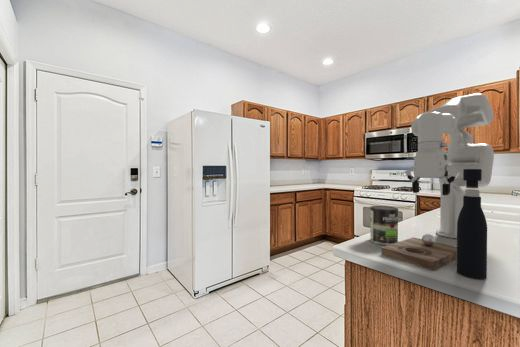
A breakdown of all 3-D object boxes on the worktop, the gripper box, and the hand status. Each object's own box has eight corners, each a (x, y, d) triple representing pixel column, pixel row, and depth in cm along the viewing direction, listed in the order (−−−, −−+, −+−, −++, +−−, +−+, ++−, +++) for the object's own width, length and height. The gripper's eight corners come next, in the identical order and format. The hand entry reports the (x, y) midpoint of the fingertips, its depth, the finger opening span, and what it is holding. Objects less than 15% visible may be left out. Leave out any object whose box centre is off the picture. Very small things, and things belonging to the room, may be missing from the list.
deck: (413, 243, 96) (413, 237, 96) (462, 255, 83) (462, 248, 83) (381, 254, 85) (381, 247, 84) (433, 270, 71) (433, 262, 71)
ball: (425, 242, 89) (425, 232, 89) (437, 245, 86) (437, 234, 85) (419, 244, 87) (419, 233, 87) (432, 247, 83) (432, 236, 83)
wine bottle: (492, 280, 64) (494, 169, 64) (465, 278, 66) (467, 169, 65) (475, 270, 71) (477, 168, 70) (451, 269, 72) (452, 169, 71)
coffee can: (404, 244, 95) (404, 209, 95) (380, 246, 93) (380, 210, 93) (386, 237, 105) (386, 205, 105) (365, 238, 104) (365, 206, 103)
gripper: (463, 145, 82) (463, 195, 83) (410, 149, 97) (410, 191, 98) (454, 144, 78) (454, 197, 79) (400, 148, 93) (400, 192, 94)
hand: (430, 193), depth 88 cm, fingers open, 9 cm apart
